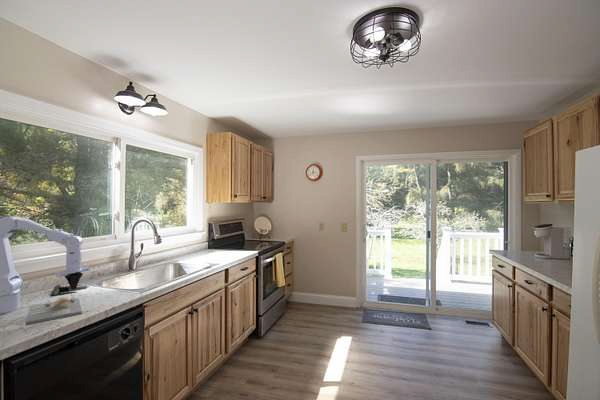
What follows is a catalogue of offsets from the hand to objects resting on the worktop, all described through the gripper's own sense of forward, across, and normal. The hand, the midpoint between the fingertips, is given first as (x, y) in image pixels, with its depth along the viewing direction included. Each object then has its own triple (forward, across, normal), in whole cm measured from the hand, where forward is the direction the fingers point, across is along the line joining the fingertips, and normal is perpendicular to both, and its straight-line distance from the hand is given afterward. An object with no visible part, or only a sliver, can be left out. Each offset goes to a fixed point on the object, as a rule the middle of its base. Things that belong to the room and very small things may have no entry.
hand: (73, 288), depth 135 cm
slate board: (+8, -8, 0) cm, 11 cm away
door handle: (+9, +15, +25) cm, 30 cm away
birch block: (+7, -5, +1) cm, 8 cm away
